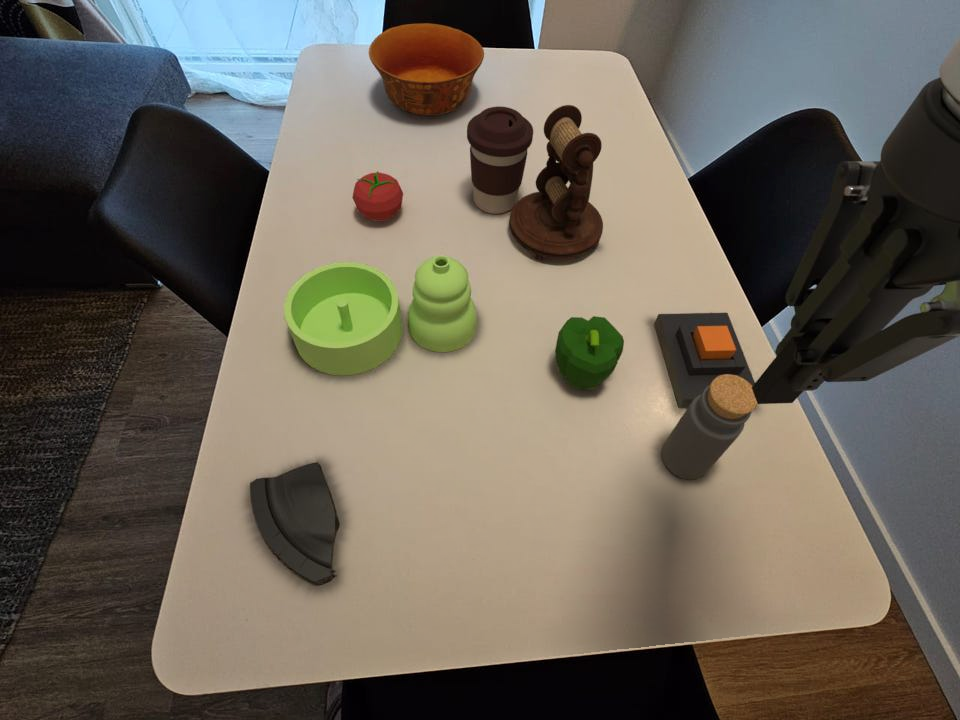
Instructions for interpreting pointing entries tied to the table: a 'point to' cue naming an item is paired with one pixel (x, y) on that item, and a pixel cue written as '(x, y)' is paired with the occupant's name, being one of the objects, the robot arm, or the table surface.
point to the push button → (695, 354)
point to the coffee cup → (498, 157)
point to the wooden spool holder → (561, 193)
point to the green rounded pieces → (377, 314)
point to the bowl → (426, 66)
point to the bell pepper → (588, 351)
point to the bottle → (709, 426)
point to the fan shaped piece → (298, 520)
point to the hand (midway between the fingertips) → (771, 395)
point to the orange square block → (714, 342)
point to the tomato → (377, 196)
